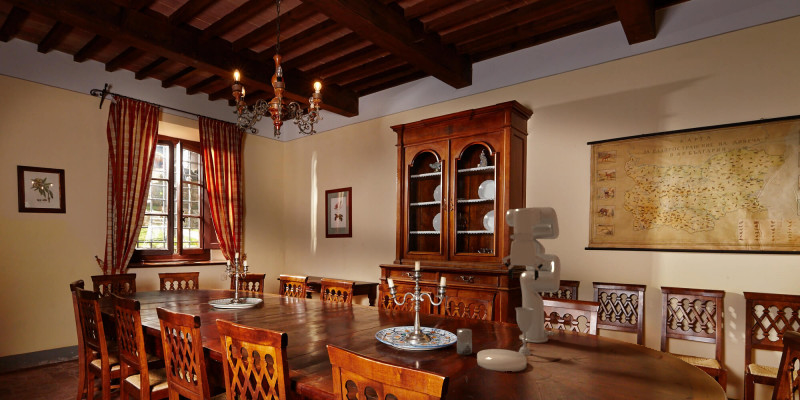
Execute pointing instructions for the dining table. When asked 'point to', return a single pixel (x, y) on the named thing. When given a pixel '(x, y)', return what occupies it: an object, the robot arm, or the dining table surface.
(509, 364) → the stand
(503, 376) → the dining table surface
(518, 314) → the chalice
